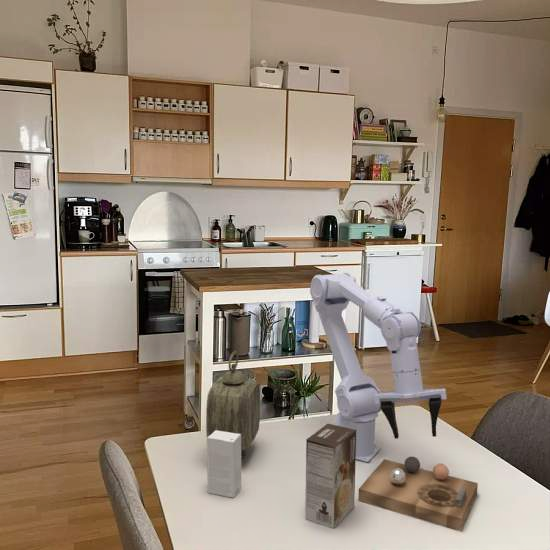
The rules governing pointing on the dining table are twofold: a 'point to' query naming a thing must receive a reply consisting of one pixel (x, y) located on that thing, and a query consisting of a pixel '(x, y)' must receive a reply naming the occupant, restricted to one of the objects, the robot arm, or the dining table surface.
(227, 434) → the skincare box
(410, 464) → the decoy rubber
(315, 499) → the coffee box
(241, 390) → the ribbed lantern with ring
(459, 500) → the bore plate
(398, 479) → the steel ball
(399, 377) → the robot arm
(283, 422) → the dining table surface
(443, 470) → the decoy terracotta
